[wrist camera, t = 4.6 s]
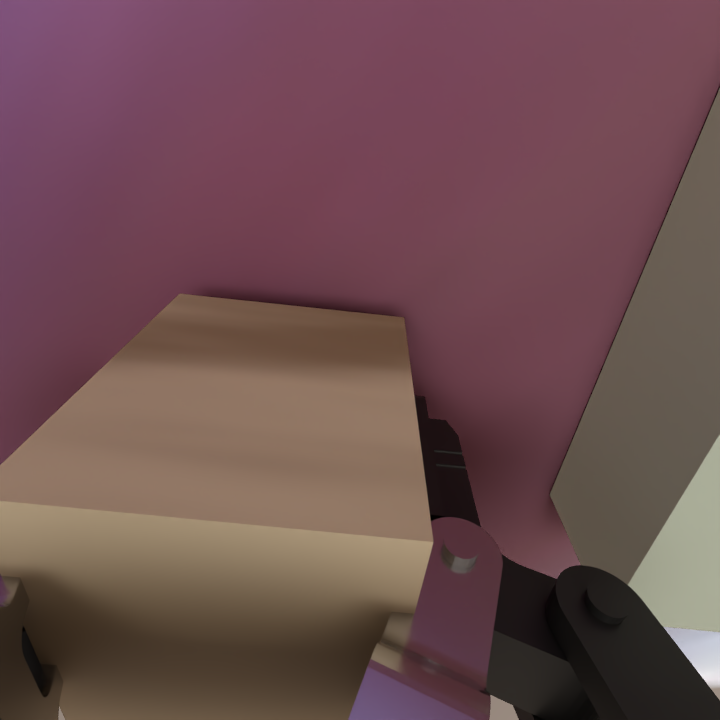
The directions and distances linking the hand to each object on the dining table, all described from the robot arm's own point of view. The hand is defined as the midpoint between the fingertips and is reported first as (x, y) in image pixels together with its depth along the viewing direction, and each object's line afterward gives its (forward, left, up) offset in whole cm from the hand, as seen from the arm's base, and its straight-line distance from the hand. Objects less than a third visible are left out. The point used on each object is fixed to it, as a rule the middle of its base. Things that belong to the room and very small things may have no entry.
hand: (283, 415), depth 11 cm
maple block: (0, 0, -1) cm, 1 cm away
